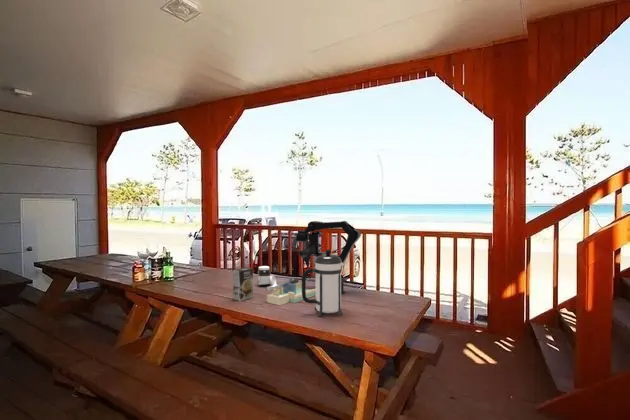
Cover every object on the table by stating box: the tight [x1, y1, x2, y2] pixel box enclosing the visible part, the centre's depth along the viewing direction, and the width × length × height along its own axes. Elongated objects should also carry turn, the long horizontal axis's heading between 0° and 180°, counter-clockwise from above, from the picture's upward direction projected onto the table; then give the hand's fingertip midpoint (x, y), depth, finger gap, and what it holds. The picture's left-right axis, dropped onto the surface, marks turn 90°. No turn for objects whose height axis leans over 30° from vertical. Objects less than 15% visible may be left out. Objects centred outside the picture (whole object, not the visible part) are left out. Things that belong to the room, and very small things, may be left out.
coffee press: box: [301, 248, 345, 318], centre depth 154 cm, size 17×16×30 cm
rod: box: [265, 277, 300, 293], centre depth 179 cm, size 8×24×6 cm, turn 143°
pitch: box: [266, 281, 316, 306], centre depth 179 cm, size 16×28×5 cm, turn 143°
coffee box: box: [232, 267, 254, 302], centre depth 178 cm, size 9×6×16 cm
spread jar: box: [257, 265, 277, 288], centre depth 207 cm, size 12×11×12 cm
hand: (313, 268), depth 194 cm, fingers open, 9 cm apart
